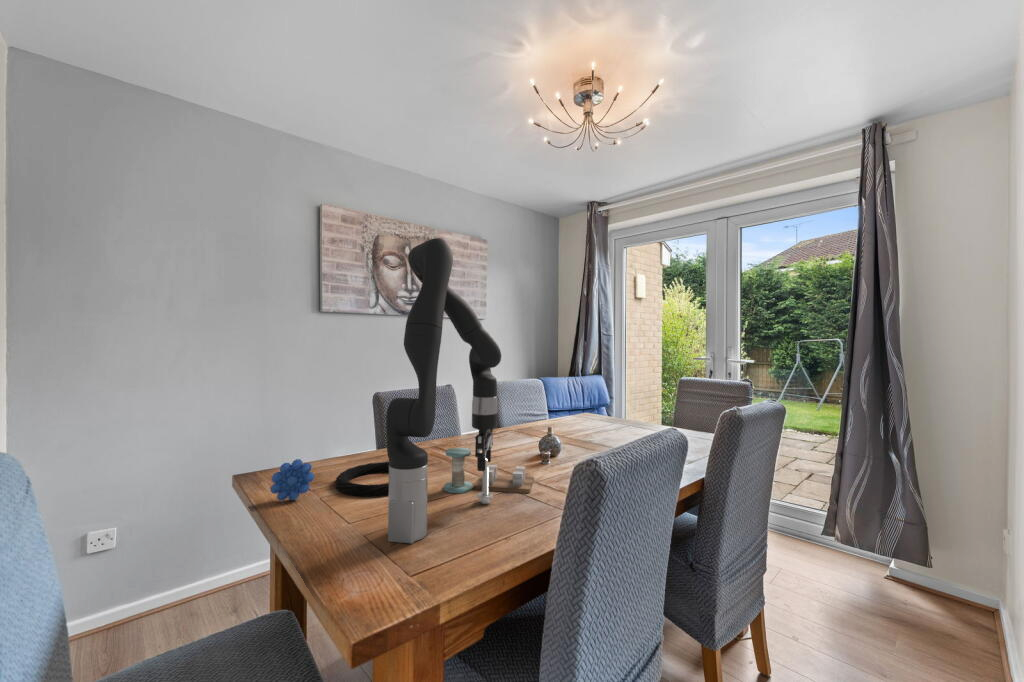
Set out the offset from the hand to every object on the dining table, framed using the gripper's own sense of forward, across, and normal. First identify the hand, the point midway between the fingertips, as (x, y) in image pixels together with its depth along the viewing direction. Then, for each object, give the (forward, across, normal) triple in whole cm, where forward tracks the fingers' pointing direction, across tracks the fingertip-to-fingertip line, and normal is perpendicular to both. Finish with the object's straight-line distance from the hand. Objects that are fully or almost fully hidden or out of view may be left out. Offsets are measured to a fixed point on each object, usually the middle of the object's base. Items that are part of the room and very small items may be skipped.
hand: (484, 466), depth 130 cm
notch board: (+11, +15, -4) cm, 19 cm away
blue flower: (+10, -8, +56) cm, 57 cm away
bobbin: (+11, +9, +10) cm, 18 cm away
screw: (+11, -1, 0) cm, 11 cm away
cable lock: (+11, +12, +37) cm, 41 cm away
